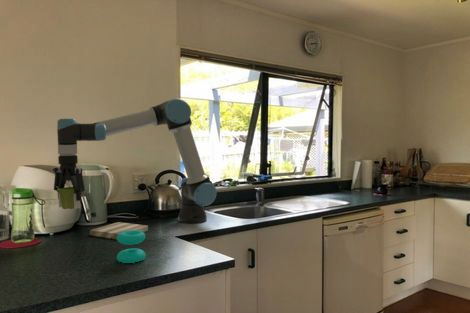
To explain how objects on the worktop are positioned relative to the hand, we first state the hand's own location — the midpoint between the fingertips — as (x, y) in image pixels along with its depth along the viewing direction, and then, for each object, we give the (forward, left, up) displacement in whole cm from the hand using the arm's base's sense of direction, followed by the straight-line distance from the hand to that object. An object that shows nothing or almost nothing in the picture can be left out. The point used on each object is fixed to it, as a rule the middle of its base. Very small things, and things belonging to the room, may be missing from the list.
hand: (69, 207), depth 164 cm
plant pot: (0, 0, -1) cm, 1 cm away
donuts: (-43, +11, -14) cm, 46 cm away
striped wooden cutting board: (-12, -18, -14) cm, 26 cm away
